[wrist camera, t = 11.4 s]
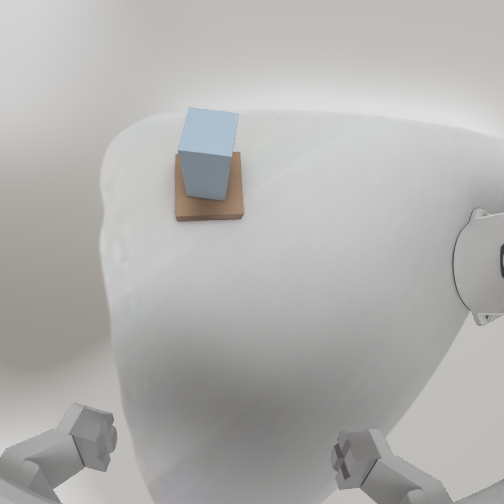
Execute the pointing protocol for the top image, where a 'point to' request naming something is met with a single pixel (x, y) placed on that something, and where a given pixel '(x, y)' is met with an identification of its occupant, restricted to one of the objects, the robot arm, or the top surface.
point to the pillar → (207, 152)
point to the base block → (210, 208)
